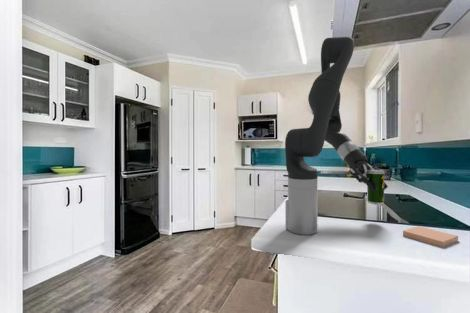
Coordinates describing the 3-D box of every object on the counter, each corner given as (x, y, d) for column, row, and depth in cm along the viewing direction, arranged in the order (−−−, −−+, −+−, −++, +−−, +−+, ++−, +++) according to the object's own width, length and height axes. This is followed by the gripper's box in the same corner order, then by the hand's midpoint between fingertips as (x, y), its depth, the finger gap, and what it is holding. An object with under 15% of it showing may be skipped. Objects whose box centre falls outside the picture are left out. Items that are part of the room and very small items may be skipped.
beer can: (367, 204, 88) (368, 170, 88) (366, 200, 93) (366, 169, 93) (385, 205, 86) (385, 171, 86) (382, 202, 91) (383, 169, 91)
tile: (403, 230, 75) (442, 241, 66) (418, 226, 79) (458, 235, 70) (402, 237, 75) (442, 249, 66) (418, 232, 79) (458, 242, 70)
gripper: (344, 148, 92) (375, 184, 82) (369, 148, 99) (400, 181, 89) (333, 162, 97) (360, 197, 87) (357, 160, 104) (385, 193, 94)
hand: (380, 189), depth 88 cm, fingers closed on beer can, 5 cm apart
